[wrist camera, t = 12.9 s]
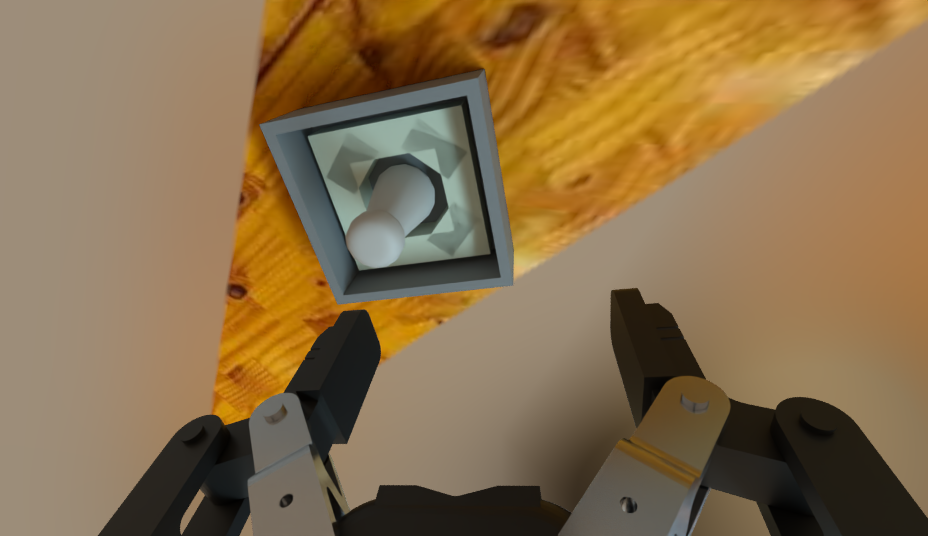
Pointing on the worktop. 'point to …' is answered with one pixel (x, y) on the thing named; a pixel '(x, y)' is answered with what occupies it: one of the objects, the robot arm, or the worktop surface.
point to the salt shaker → (390, 215)
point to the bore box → (394, 143)
